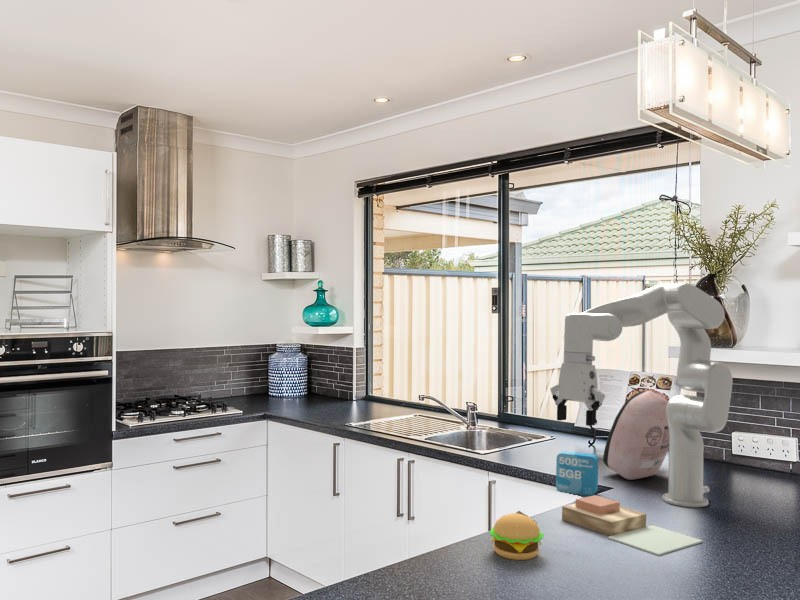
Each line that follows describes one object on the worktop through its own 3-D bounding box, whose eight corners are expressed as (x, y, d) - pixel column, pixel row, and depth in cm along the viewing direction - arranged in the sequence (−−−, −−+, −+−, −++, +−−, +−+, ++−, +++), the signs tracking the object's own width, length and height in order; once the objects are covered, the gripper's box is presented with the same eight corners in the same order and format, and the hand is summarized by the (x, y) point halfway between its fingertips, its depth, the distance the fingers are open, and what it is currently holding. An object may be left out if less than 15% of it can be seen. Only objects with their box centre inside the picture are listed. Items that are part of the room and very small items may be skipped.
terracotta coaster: (595, 502, 188) (595, 495, 188) (619, 509, 181) (619, 502, 181) (575, 506, 183) (575, 499, 183) (600, 514, 177) (600, 506, 177)
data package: (555, 491, 212) (556, 452, 213) (558, 488, 216) (559, 450, 217) (595, 496, 207) (596, 457, 208) (597, 493, 211) (598, 454, 212)
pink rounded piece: (634, 468, 247) (636, 385, 248) (683, 480, 231) (685, 391, 232) (594, 475, 235) (596, 387, 236) (643, 488, 219) (645, 394, 219)
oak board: (596, 511, 191) (596, 499, 191) (646, 527, 178) (646, 513, 178) (561, 519, 183) (562, 506, 183) (611, 536, 170) (611, 522, 170)
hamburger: (511, 540, 165) (512, 504, 165) (553, 554, 156) (554, 516, 156) (478, 551, 157) (479, 513, 157) (521, 567, 148) (522, 526, 148)
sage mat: (652, 526, 179) (652, 525, 179) (702, 542, 167) (702, 540, 167) (608, 538, 168) (608, 536, 168) (658, 555, 157) (658, 553, 157)
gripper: (613, 361, 180) (611, 426, 180) (561, 356, 194) (559, 417, 194) (595, 361, 176) (593, 428, 175) (543, 356, 190) (541, 418, 189)
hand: (575, 422), depth 184 cm, fingers open, 9 cm apart
